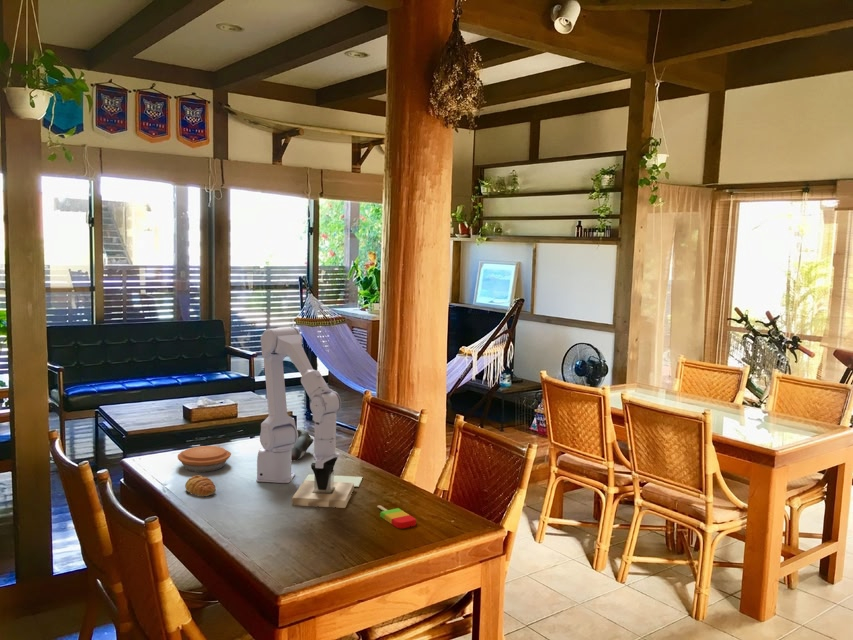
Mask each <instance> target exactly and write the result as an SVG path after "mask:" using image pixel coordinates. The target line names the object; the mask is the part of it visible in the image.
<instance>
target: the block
mask: <svg viewBox="0 0 853 640" xmlns="http://www.w3.org/2000/svg"><path fill="white" fill-rule="evenodd" d="M334 475H335V469H333V470H332V469H331V471H330V474H329V478H328V484H327V488H326V490H318V487H317V482H316V477H314V493H322V494H332V493H333V491H334Z"/></svg>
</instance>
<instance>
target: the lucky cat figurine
mask: <svg viewBox="0 0 853 640" xmlns="http://www.w3.org/2000/svg"><path fill="white" fill-rule="evenodd" d="M283 425H284V424H283ZM278 426H281V425H278ZM275 427H276V426H275ZM297 431H298V440H297V442H296V443H295V444H294V448H292V457H291V460H295V461H298V460H299V459H301V458H302V457H304V456H305V454H306V452H307V450H308V449H309V447H311V445H312V444H313V443H314V438H312V437H311V436H310V434H309V433H308V432H307V430H305V429H297Z"/></svg>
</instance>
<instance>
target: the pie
mask: <svg viewBox="0 0 853 640" xmlns="http://www.w3.org/2000/svg"><path fill="white" fill-rule="evenodd" d="M231 456H232V453H231V452H230V451H229V450H226V448H224V447H220V446H214V445H200V446H195V447H190V448H187V449H185V450H183V451H181V452H180V453H178V454H177V460H179V462H181V465H182V467H184V469H185V468H186V470H187V471H189V470H190V471H189V472H195V471H199V472H198V473H200V472H201V473H203V471H207V472H212V471H216V470H219V469H221V468H224V465H225V464H226V462H227V460H228V459H230V457H231Z"/></svg>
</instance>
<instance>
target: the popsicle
mask: <svg viewBox="0 0 853 640" xmlns="http://www.w3.org/2000/svg"><path fill="white" fill-rule="evenodd" d="M376 507H377V508H378V509H380V510H381V511H380V513H379V517H380V518H382V519H383V520H385V521H386V522H388V523H389V524H391V525H392V526H394V527H395V528H397V529H406V528H411V527H415V526H416V525H417V519H416V518H415V517H413V516H412V515H411V514H409V513H407V512H405V511H404V510H402V509H401V508H399V507H397V508H392V509H387V508H385V507H384V506H382V505H381V504H380V505H377V506H376ZM410 526H411V527H410Z"/></svg>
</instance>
